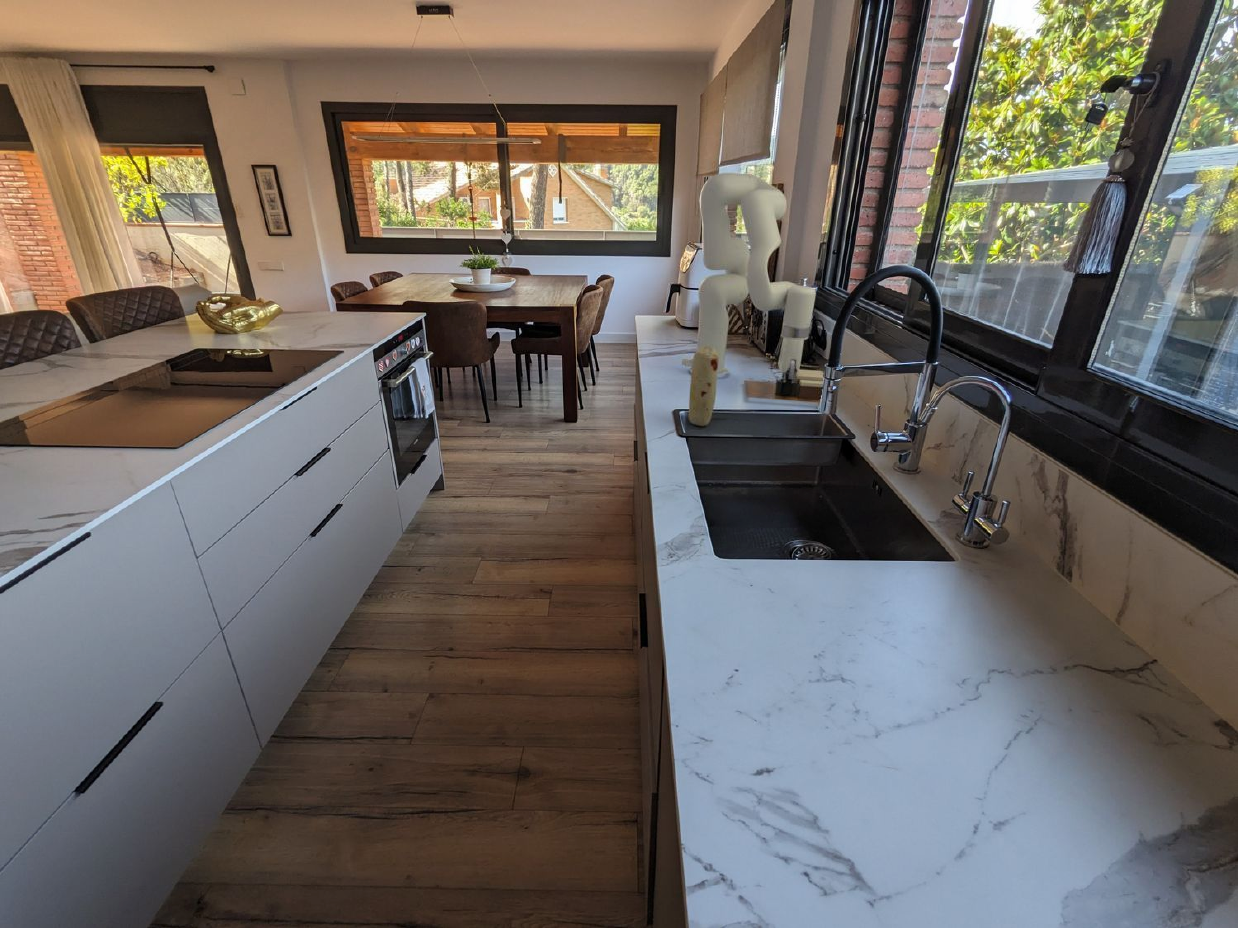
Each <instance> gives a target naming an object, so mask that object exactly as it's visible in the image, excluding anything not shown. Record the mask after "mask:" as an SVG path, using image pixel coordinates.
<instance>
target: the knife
mask: <svg viewBox="0 0 1238 928" xmlns="http://www.w3.org/2000/svg"><path fill="white" fill-rule="evenodd" d="M782 382H783V380H781V379H776V380H775V383H776V386H775V395H781V394H780V392H781V386H782ZM793 383H794V384H793V390H792V395H791V396H796V395H797V393H798V387H799V385H798V382H797V381H794V382H793ZM784 396H786V395H784Z"/></svg>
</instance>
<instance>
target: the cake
mask: <svg viewBox="0 0 1238 928" xmlns="http://www.w3.org/2000/svg"><path fill="white" fill-rule="evenodd" d="M823 374H824V372H823V370H811V369H799V372H798V373H797V374H795V376H794V381H797V382H798V385H799V381H800V380H811V381H823Z"/></svg>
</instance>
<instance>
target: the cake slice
mask: <svg viewBox="0 0 1238 928" xmlns="http://www.w3.org/2000/svg"><path fill="white" fill-rule="evenodd" d="M822 389H823V381H811V380H800V381H799V387H798V393H797V397H798V399H811V400H820V399H821V395H822Z"/></svg>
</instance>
